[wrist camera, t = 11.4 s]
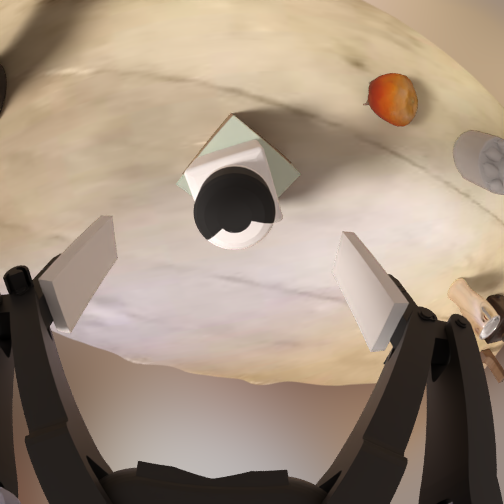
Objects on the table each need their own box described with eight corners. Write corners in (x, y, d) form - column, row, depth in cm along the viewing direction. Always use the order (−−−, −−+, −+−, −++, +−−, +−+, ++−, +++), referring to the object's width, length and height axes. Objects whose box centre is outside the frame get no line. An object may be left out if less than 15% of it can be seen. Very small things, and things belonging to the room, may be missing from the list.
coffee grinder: (504, 293, 57) (536, 329, 41) (488, 321, 62) (516, 359, 46) (480, 293, 55) (516, 336, 39) (462, 325, 60) (492, 368, 44)
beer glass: (468, 285, 53) (502, 322, 40) (450, 304, 55) (481, 344, 42) (462, 271, 51) (499, 309, 38) (442, 291, 53) (476, 333, 40)
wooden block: (489, 348, 70) (507, 375, 57) (484, 355, 72) (502, 381, 58) (481, 350, 69) (500, 378, 56) (476, 356, 71) (494, 385, 58)
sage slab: (183, 174, 35) (175, 184, 30) (233, 115, 31) (233, 115, 27) (242, 219, 38) (242, 235, 34) (292, 165, 35) (300, 174, 30)
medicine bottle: (193, 158, 29) (169, 187, 18) (256, 138, 28) (269, 154, 18) (214, 215, 32) (205, 271, 22) (274, 197, 32) (294, 245, 21)
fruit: (354, 64, 31) (403, 67, 25) (382, 78, 35) (425, 83, 29) (350, 115, 35) (398, 124, 29) (378, 122, 39) (420, 132, 33)
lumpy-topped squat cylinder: (485, 186, 41) (513, 201, 34) (448, 174, 40) (478, 188, 33) (494, 140, 36) (523, 150, 29) (457, 121, 35) (489, 128, 28)
